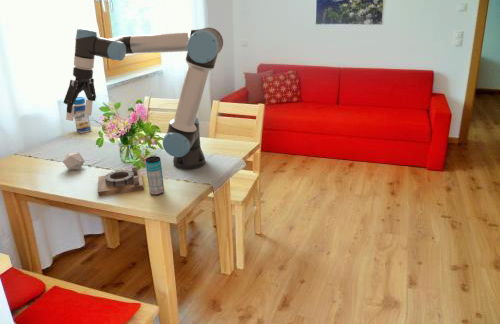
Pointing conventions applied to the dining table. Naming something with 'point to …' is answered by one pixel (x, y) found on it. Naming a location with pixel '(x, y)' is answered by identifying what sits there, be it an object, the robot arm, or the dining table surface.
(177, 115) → the robot arm
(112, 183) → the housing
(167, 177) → the dining table surface
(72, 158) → the die
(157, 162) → the beverage can
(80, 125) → the beverage bottle
